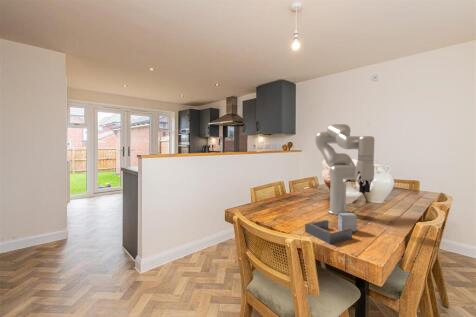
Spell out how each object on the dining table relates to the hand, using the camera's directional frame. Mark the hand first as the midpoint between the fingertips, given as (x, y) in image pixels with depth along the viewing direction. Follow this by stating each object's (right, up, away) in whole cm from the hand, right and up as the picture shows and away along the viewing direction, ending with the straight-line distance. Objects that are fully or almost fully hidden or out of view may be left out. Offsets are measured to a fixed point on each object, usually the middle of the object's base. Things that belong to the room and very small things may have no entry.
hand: (364, 192), depth 124 cm
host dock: (-24, -20, -10) cm, 33 cm away
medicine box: (-12, -20, -4) cm, 23 cm away
